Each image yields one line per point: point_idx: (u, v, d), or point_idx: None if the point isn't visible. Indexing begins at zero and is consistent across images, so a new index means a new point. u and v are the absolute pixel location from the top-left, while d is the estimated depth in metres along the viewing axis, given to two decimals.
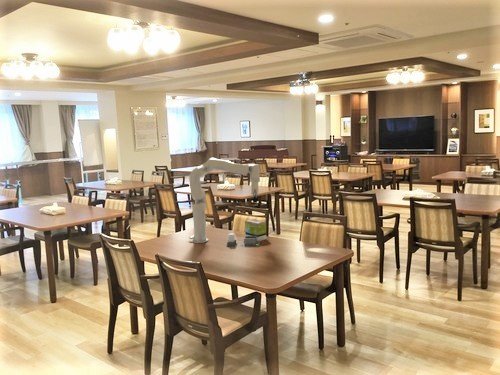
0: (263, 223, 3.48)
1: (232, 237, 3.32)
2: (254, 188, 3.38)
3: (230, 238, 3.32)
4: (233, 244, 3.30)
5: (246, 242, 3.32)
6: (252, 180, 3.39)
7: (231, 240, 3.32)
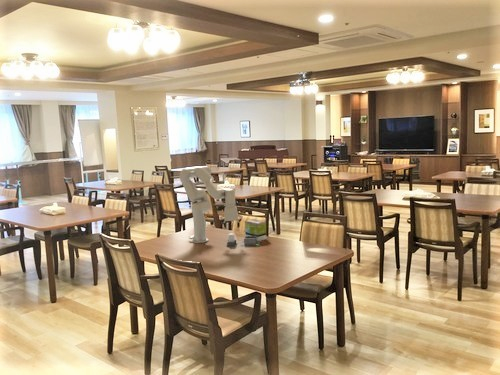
0: (263, 223, 3.48)
1: (232, 237, 3.32)
2: (237, 213, 3.31)
3: (230, 238, 3.32)
4: (233, 244, 3.30)
5: (246, 242, 3.32)
6: (234, 205, 3.29)
7: (231, 240, 3.32)
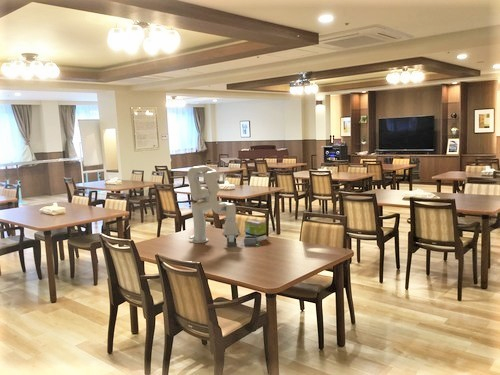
0: (263, 223, 3.48)
1: (232, 237, 3.32)
2: (237, 227, 3.32)
3: (230, 238, 3.32)
4: (233, 244, 3.30)
5: (246, 242, 3.32)
6: (234, 220, 3.30)
7: (231, 240, 3.32)
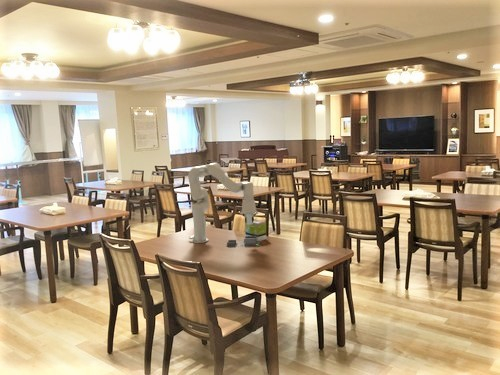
0: (263, 223, 3.48)
1: (250, 216, 3.32)
2: (255, 206, 3.32)
3: (248, 217, 3.32)
4: (233, 244, 3.30)
5: (246, 242, 3.32)
6: (252, 198, 3.30)
7: (249, 219, 3.32)
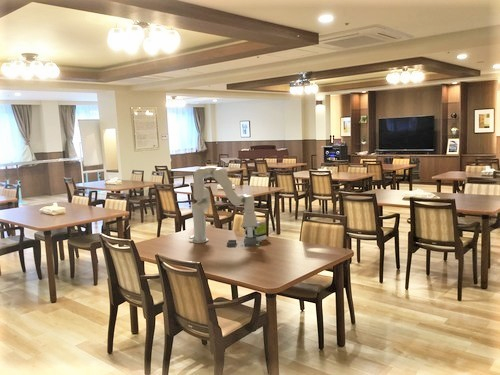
0: (263, 223, 3.48)
1: (251, 229, 3.33)
2: None
3: (249, 230, 3.33)
4: (233, 244, 3.30)
5: (246, 242, 3.32)
6: (253, 211, 3.31)
7: (250, 232, 3.33)
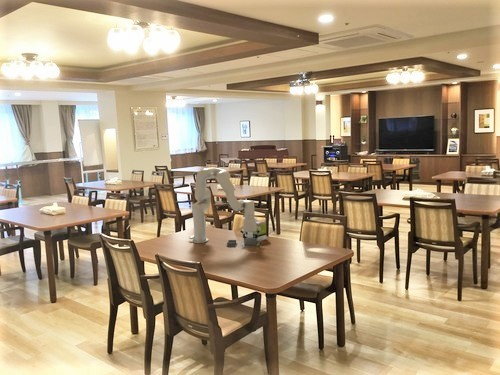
0: (263, 223, 3.48)
1: (251, 236, 3.34)
2: None
3: (249, 237, 3.34)
4: (233, 244, 3.30)
5: (246, 242, 3.32)
6: (253, 217, 3.32)
7: None
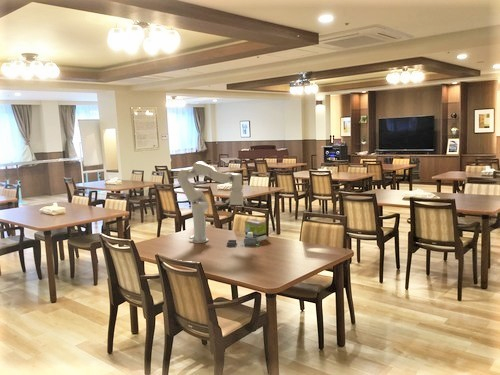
0: (263, 223, 3.48)
1: (251, 236, 3.34)
2: None
3: (249, 237, 3.34)
4: (233, 244, 3.30)
5: (246, 242, 3.32)
6: (240, 190, 3.33)
7: None
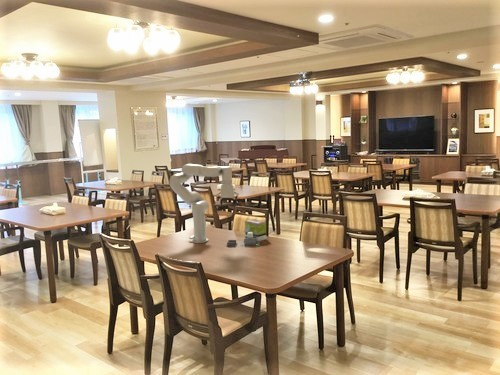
0: (263, 223, 3.48)
1: (251, 236, 3.34)
2: (233, 190, 3.38)
3: (249, 237, 3.34)
4: (233, 244, 3.30)
5: (246, 242, 3.32)
6: (231, 182, 3.36)
7: None
